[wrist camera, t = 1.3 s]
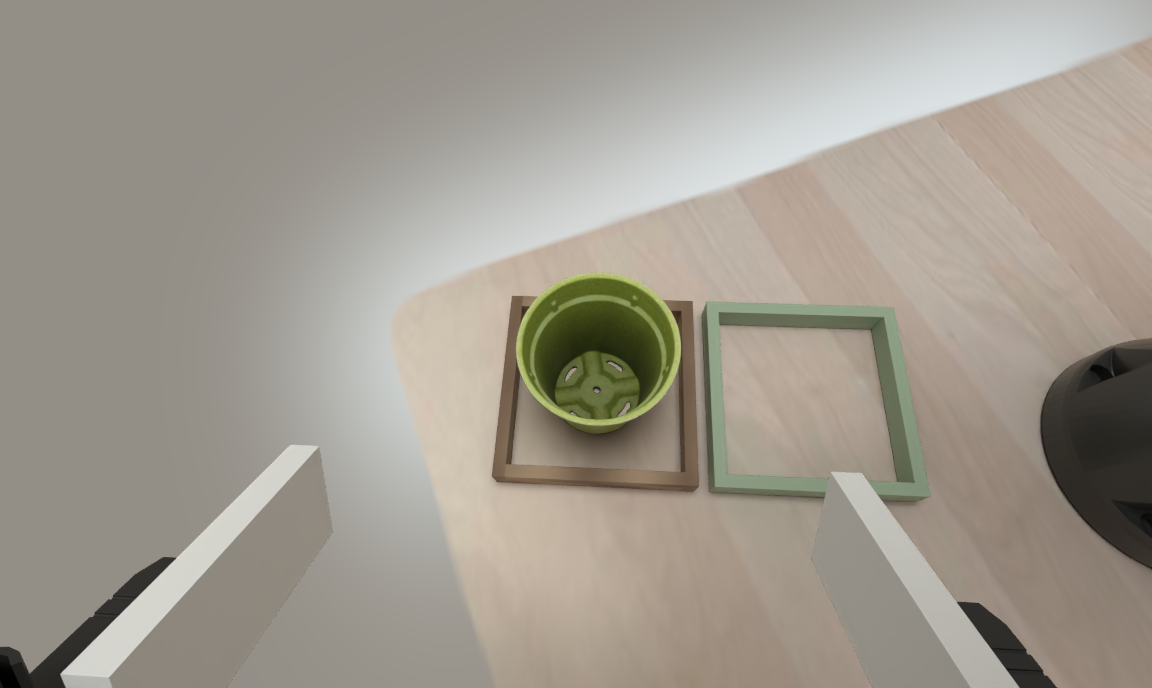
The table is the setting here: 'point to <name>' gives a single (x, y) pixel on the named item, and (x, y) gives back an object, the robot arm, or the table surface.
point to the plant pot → (598, 350)
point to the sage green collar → (892, 384)
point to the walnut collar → (598, 476)
